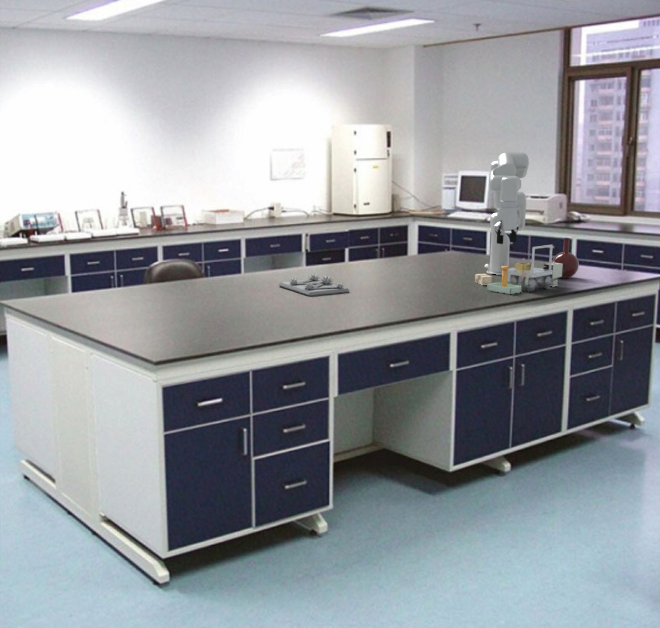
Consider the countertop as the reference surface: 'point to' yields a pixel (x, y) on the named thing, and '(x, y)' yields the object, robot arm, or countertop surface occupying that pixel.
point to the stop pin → (504, 275)
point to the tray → (504, 288)
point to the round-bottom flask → (567, 260)
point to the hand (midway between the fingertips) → (506, 242)
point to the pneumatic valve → (555, 272)
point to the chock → (483, 279)
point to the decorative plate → (314, 286)
